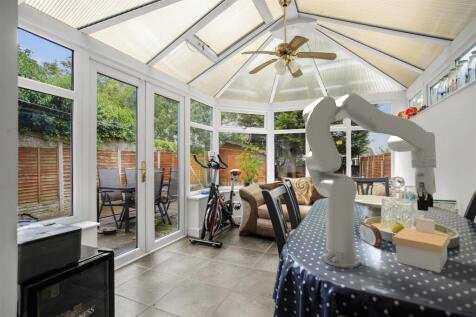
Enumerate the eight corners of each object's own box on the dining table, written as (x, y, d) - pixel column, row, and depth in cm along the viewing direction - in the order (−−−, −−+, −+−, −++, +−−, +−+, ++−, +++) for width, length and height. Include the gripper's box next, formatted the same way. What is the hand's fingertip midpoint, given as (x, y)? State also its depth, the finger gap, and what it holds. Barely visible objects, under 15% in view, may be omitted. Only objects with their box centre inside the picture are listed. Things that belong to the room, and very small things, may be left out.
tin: (383, 249, 98) (382, 228, 99) (375, 249, 98) (375, 228, 99) (364, 238, 113) (364, 220, 114) (357, 238, 114) (357, 220, 114)
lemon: (404, 239, 111) (403, 222, 111) (408, 243, 105) (407, 225, 106) (390, 238, 112) (390, 221, 113) (393, 242, 107) (393, 224, 107)
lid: (442, 253, 76) (441, 230, 76) (392, 243, 86) (391, 222, 86) (450, 241, 88) (449, 221, 88) (405, 233, 98) (405, 215, 98)
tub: (439, 272, 77) (439, 247, 77) (396, 261, 86) (395, 239, 86) (447, 259, 87) (446, 237, 88) (407, 250, 96) (407, 231, 97)
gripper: (431, 164, 83) (434, 213, 83) (440, 163, 95) (442, 206, 94) (406, 164, 89) (408, 210, 88) (416, 163, 100) (418, 204, 100)
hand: (425, 208), depth 91 cm, fingers open, 9 cm apart
